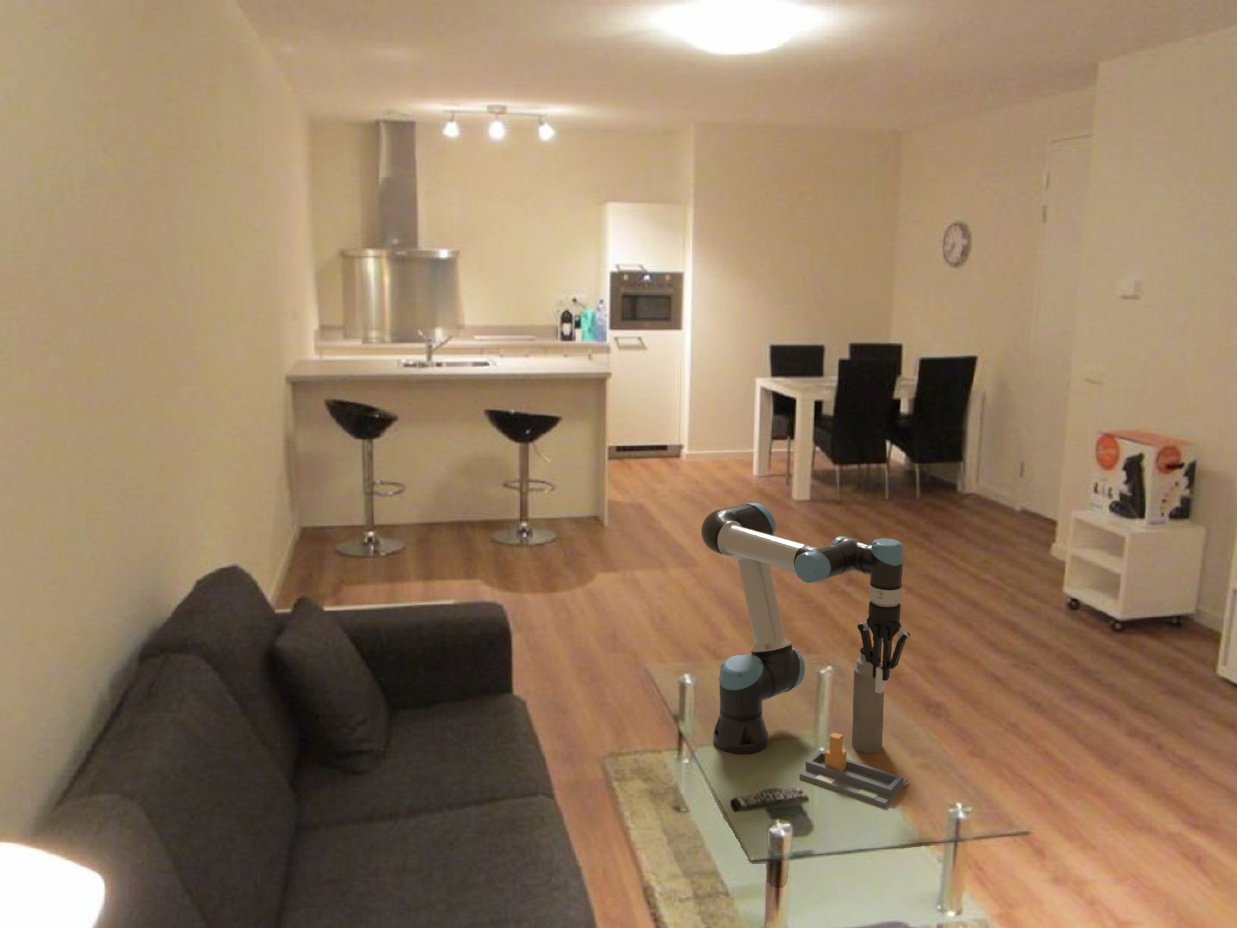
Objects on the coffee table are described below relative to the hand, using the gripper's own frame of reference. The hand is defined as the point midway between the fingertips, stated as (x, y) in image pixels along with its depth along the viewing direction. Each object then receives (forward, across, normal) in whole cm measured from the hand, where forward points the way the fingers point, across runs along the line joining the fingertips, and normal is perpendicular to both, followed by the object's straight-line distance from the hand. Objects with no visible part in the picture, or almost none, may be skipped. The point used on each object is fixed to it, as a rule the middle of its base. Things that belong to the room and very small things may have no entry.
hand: (880, 690), depth 238 cm
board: (+24, -4, -5) cm, 25 cm away
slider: (+22, -9, -5) cm, 25 cm away
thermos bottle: (+24, -8, +14) cm, 29 cm away
